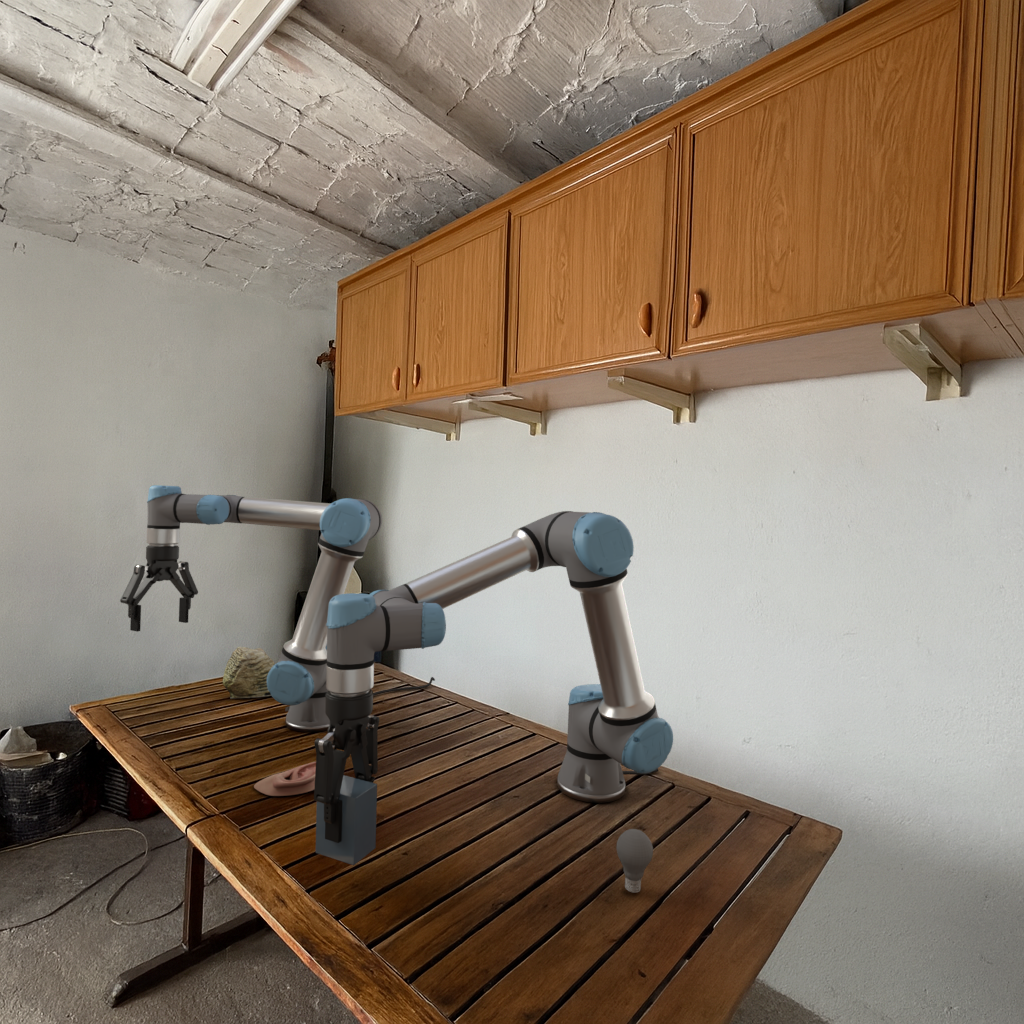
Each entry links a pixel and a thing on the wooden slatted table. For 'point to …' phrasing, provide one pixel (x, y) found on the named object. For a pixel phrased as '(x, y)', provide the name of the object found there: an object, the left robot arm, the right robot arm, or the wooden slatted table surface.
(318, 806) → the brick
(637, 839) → the light bulb
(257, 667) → the fossil
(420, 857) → the wooden slatted table surface
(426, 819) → the wooden slatted table surface
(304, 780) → the anatomical model
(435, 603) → the right robot arm
